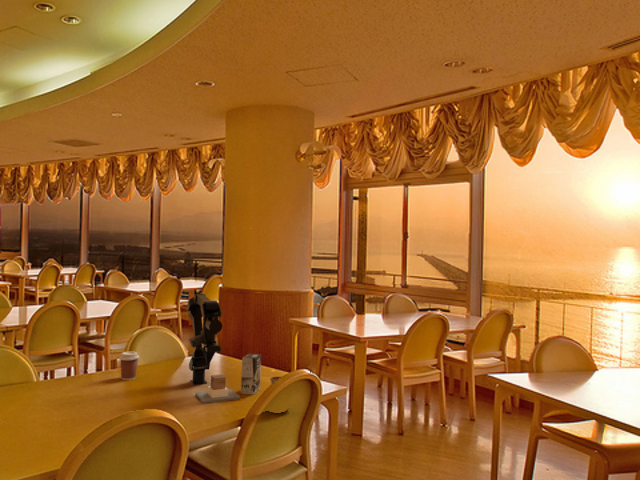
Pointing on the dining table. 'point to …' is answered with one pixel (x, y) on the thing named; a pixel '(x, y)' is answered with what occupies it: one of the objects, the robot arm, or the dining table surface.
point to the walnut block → (218, 381)
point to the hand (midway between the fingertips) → (207, 364)
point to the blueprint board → (208, 399)
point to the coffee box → (251, 373)
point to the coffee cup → (128, 365)
